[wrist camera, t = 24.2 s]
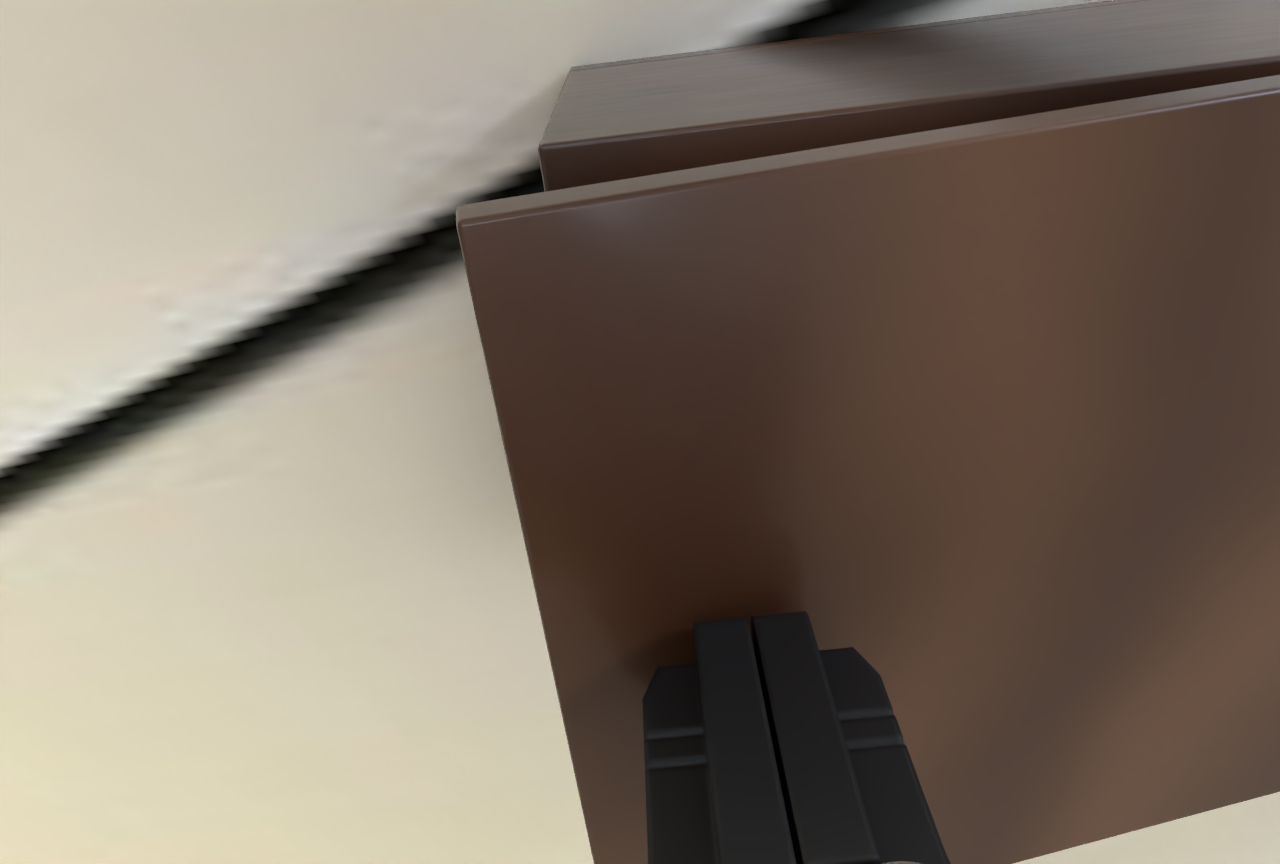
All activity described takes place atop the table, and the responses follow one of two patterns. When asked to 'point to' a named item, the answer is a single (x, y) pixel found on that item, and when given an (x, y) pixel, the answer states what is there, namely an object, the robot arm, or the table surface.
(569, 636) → the lid
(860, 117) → the box
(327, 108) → the table surface
